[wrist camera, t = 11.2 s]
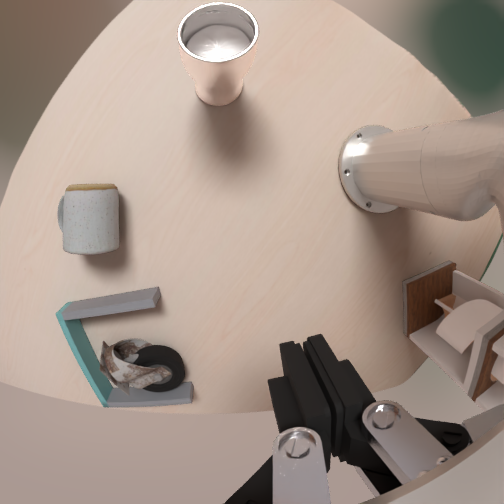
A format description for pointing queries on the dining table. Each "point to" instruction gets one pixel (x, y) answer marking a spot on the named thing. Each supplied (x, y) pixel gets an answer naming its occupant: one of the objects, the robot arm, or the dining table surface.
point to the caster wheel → (141, 366)
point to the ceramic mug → (89, 218)
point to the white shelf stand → (459, 329)
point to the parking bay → (89, 361)
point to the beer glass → (218, 49)
